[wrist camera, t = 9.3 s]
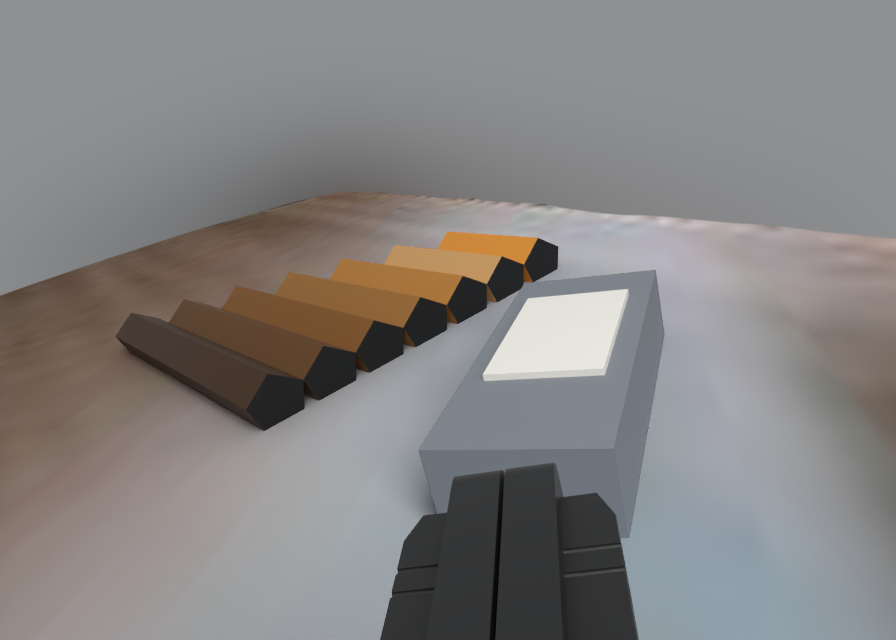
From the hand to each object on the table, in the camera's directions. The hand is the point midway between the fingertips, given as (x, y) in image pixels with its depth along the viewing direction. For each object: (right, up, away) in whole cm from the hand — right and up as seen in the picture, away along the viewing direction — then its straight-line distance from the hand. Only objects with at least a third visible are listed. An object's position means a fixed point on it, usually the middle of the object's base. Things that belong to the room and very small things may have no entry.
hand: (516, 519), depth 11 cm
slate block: (+2, -3, +15) cm, 15 cm away
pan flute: (-10, +3, +44) cm, 46 cm away
